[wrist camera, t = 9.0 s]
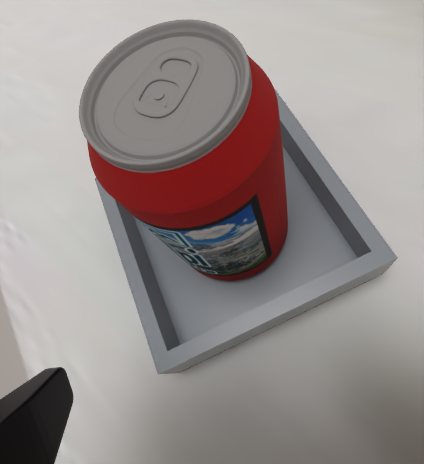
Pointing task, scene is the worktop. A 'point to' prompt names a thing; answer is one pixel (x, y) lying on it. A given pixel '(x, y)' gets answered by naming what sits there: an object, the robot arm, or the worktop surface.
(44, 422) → the robot arm
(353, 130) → the worktop surface
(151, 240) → the tray
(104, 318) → the worktop surface
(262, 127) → the beverage can
